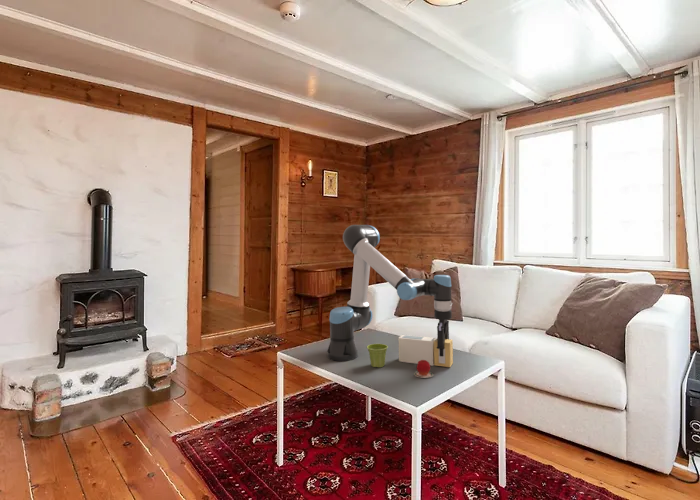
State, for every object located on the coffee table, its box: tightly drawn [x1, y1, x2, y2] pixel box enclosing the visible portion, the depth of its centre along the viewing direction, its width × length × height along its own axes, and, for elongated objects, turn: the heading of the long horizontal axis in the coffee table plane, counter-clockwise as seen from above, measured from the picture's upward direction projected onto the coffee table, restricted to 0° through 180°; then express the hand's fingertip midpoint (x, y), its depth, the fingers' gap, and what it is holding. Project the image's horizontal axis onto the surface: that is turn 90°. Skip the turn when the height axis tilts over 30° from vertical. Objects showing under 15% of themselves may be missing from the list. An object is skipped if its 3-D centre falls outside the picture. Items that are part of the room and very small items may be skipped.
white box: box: [398, 334, 437, 367], centre depth 174 cm, size 16×6×11 cm, turn 64°
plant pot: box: [366, 343, 389, 368], centre depth 169 cm, size 9×9×9 cm
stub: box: [433, 338, 454, 368], centre depth 168 cm, size 7×6×11 cm
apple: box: [413, 360, 434, 379], centre depth 157 cm, size 8×8×6 cm
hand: (443, 360), depth 168 cm, fingers closed on stub, 6 cm apart
